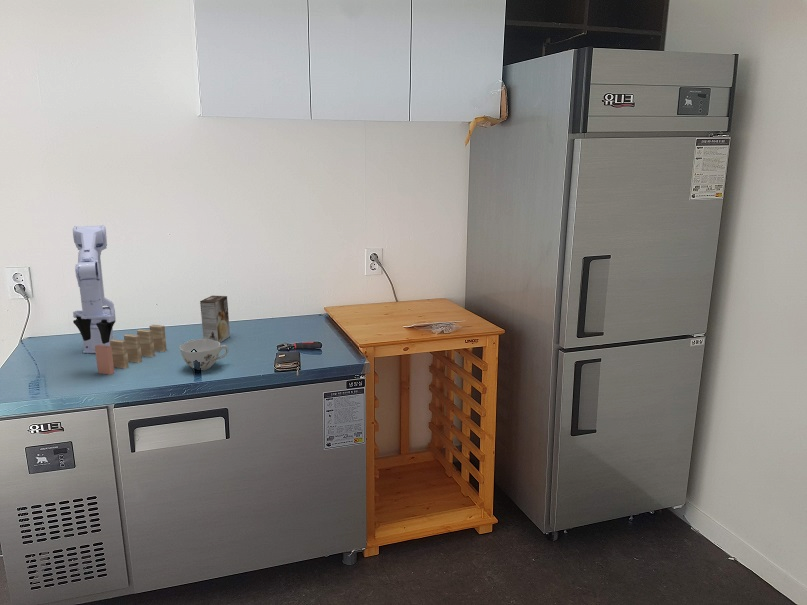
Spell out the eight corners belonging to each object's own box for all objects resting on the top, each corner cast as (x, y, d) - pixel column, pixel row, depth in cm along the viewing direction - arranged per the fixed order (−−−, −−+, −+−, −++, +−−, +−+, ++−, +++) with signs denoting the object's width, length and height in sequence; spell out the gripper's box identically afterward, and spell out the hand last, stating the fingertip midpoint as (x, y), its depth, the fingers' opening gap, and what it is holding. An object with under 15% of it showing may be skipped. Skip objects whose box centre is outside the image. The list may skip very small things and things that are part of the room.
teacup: (183, 376, 196) (181, 352, 194) (179, 364, 207) (177, 341, 205) (232, 370, 202) (230, 346, 200) (226, 358, 213) (224, 336, 211)
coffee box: (215, 335, 238) (212, 294, 234) (230, 336, 236) (227, 295, 232) (202, 342, 229) (199, 300, 225) (218, 344, 228) (215, 301, 224)
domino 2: (138, 362, 208) (135, 337, 206) (126, 360, 210) (123, 335, 207) (142, 360, 210) (139, 335, 207) (130, 359, 211) (127, 333, 209)
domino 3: (151, 357, 213) (148, 332, 211) (139, 355, 215) (136, 330, 213) (154, 355, 215) (152, 330, 213) (143, 353, 217) (140, 329, 215)
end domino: (110, 374, 197) (106, 348, 195) (98, 372, 199) (94, 346, 196) (114, 372, 199) (111, 346, 196) (102, 370, 200) (99, 344, 198)
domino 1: (124, 368, 203) (121, 342, 200) (112, 366, 204) (109, 340, 202) (128, 366, 204) (125, 340, 202) (116, 364, 206) (113, 339, 204)
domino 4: (163, 351, 219) (160, 327, 217) (151, 350, 221) (149, 325, 218) (166, 350, 221) (164, 326, 218) (155, 348, 222) (153, 324, 220)
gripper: (62, 300, 192) (68, 342, 196) (99, 305, 187) (104, 347, 191) (81, 295, 199) (86, 336, 202) (117, 299, 194) (121, 341, 197)
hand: (96, 341), depth 197 cm, fingers open, 7 cm apart
